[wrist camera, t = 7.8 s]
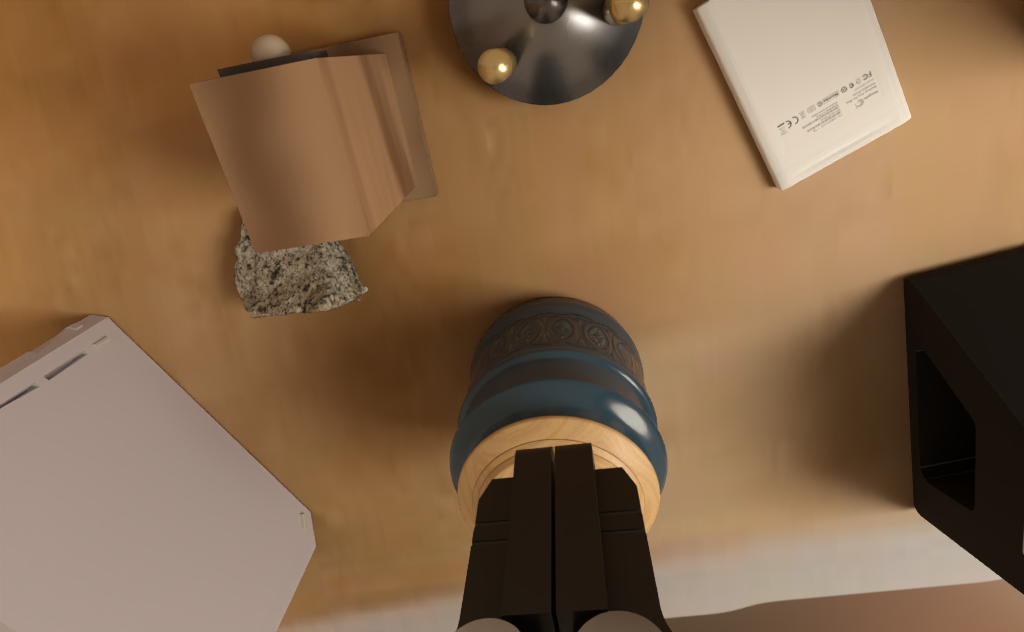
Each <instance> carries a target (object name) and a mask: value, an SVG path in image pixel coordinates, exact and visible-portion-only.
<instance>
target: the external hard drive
mask: <svg viewBox="0 0 1024 632" xmlns="http://www.w3.org/2000/svg"><path fill="white" fill-rule="evenodd" d="M693 13H694V15H695V17H696V19H697V21H698V23H699V26H700V28H701V30H702V32H703V34H704V36H705V38H706V41H707V43H708V45H709V47H710V49H711V51H712V53H713V55H714V57H715V59H716V61H717V63H718V66H719V68H720V70H721V72H722V74H723V76H724V78H725V80H726V82H727V85H728V87H729V89H730V91H731V93H732V95H733V97H734V99H735V102H736V104H737V106H738V108H739V110H740V112H741V114H742V116H743V118H744V120H745V123H746V125H747V127H748V129H749V131H750V133H751V135H752V137H753V140H754V142H755V144H756V146H757V148H758V150H759V152H760V154H761V156H762V158H763V160H764V163H765V165H766V167H767V169H768V171H769V173H770V176H771V178H772V180H773V182H774V184H775V186H776V187H777V188H778V189H780V190H784V189H787V188H789V187H791V186H792V185H794V184H796V183H798V182H799V181H801V180H803V179H805V178H807V177H808V176H810V175H812V174H814V173H815V172H817V171H819V170H821V169H823V168H824V167H826V166H828V165H830V164H832V163H833V162H835V161H837V160H839V159H840V158H842V157H844V156H846V155H848V154H849V153H851V152H853V151H855V150H857V149H858V148H860V147H862V146H864V145H866V144H867V143H869V142H871V141H873V140H875V139H876V138H878V137H880V136H882V135H884V134H885V133H887V132H889V131H891V130H893V129H894V128H896V127H898V126H900V125H902V124H903V123H905V122H906V121H908V120H909V119H910V118H911V114H910V112H909V109H908V106H907V103H906V100H905V98H904V95H903V92H902V89H901V86H900V83H899V80H898V77H897V74H896V71H895V68H894V66H893V63H892V60H891V57H890V54H889V51H888V48H887V45H886V43H885V40H884V37H883V34H882V31H881V28H880V26H879V23H878V20H877V17H876V14H875V11H874V8H873V6H872V3H871V0H706V1H705V2H703V3H702V4H700V5H699V6H697V7H696V8H694V9H693Z"/></svg>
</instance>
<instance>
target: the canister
mask: <svg viewBox="0 0 1024 632" xmlns="http://www.w3.org/2000/svg"><path fill="white" fill-rule="evenodd" d="M581 443H592V449H593V456H594V463H595V469H605V468H616V467H622V468H623V469H624V470H625V471H626V473H627V474H628V475H629V476H630V478H631V479H632V480H633V481H634V483H635V484H636V485H637V489H638V494H639V499H640V504H641V510H642V515H643V520H644V525H645V531H646V533H647V532H648V531H649V529H650V528H651V526H652V524H653V522H654V520H655V518H656V515H657V512H658V508H659V502H660V495H661V493H662V490H663V488H664V484H665V481H666V476H667V453H666V449H665V445H664V442H663V439H662V437H661V435H660V433H659V431H658V426H657V417H656V413H655V409H654V406H653V404H652V402H651V399H650V397H649V396H648V394H647V392H646V388H645V384H644V375H643V368H642V363H641V360H640V357H639V354H638V351H637V349H636V346H635V344H634V343H633V341H632V339H631V338H630V336H629V335H628V334H627V332H626V331H625V330H624V329H623V328H622V326H621V325H620V324H619V323H618V322H617V321H616V320H615V319H614V318H613V317H612V316H610V315H609V314H608V313H606V312H605V311H603V310H602V309H600V308H598V307H596V306H594V305H592V304H589V303H586V302H584V301H580V300H576V299H571V298H561V297H551V298H542V299H536V300H532V301H529V302H526V303H523V304H521V305H518V306H516V307H514V308H513V309H511V310H509V311H508V312H506V313H505V314H503V315H502V316H501V317H500V318H499V319H498V320H497V321H496V322H495V323H494V324H493V325H492V326H491V327H490V328H489V330H488V331H487V332H486V334H485V335H484V336H483V338H482V339H481V341H480V343H479V345H478V347H477V349H476V352H475V354H474V358H473V361H472V365H471V371H470V384H469V389H468V393H467V396H466V398H465V400H464V402H463V405H462V408H461V411H460V415H459V422H458V430H457V432H456V434H455V437H454V439H453V442H452V446H451V451H450V471H451V476H452V481H453V484H454V487H455V489H456V491H457V494H458V501H459V506H460V510H461V513H462V515H463V517H464V520H465V521H466V523H467V525H468V526H469V528H470V529H471V531H472V532H474V527H475V520H476V513H477V507H478V501H479V498H480V497H481V495H482V494H483V492H484V491H485V489H486V488H487V486H488V485H489V483H490V482H491V480H492V479H498V478H509V477H513V473H514V461H515V453H516V450H522V449H532V448H542V447H553V450H554V454H555V446H561V445H571V444H581Z"/></svg>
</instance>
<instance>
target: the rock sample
mask: <svg viewBox="0 0 1024 632" xmlns="http://www.w3.org/2000/svg"><path fill="white" fill-rule="evenodd" d="M229 246H230V245H229ZM234 248H235V254H236V256H237V258H238V260H237V262H236V263H235V265H234V272H235V282H234V283H235V286H236V288H237V289H238V294H239V297H240V298H241V300H242V301H243V304H244V307H245V310H246V311H248V312H249V313H250V315H251V317H252V318H257V317H259V318H260V317H264V316H278V315H287V314H289V313H307V312H308V313H311V312H323V311H328V310H331V309H334V308H339V307H340V306H342V305H345V304H346V303H347V304H348V303H349V302H350V301H356V298H358V296H359V295H360V294H361V295H362V294H364V293H365V292H367V291H368V288H367V287H363V285H361V282H360V281H359V279H358V275H357V273H356V271H357V269H356V267H355V265H354V262H353V260H352V259H351V258H350V257H349V256H348V255H347V253H346V250H345V249H344V248H343V246H342V245H341V244H340V243H339V242H338V241H333V242H327V243H320V244H314V245H307V246H301V247H295V248H288V249H282V250H276V251H269V252H263V253H255V250H254V248H253V245H252V243H251V240H250V238H249V235H248V233H247V230H246V227H245V225H244V222H243V220H242V224H241V238H240V240H239V242H238V243H237V244H236V246H235V247H234ZM361 277H362V276H361ZM234 283H233V284H234ZM366 285H367V284H366ZM361 298H362V297H361ZM358 299H359V298H358ZM341 304H342V305H341ZM302 318H303V317H302ZM308 319H309V318H308ZM303 320H305V319H303Z"/></svg>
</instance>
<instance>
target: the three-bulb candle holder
mask: <svg viewBox="0 0 1024 632" xmlns="http://www.w3.org/2000/svg"><path fill="white" fill-rule="evenodd" d="M648 3H649V0H448V4H449V13H450V19H451V23H452V28H453V31H454V34H455V37H456V40H457V43H458V45H459V47H460V49H461V51H462V53H463V55H464V57H465V58H466V60H467V61H468V63H469V64H470V66H471V67H472V68H473V70H474V71H475V72H476V73H477V74H478V76H479V77H480V78H481V79H483V80H484V81H485V82H486V83H487V84H488V85H489V86H491V87H492V88H493V89H495V90H496V91H498V92H499V93H501V94H503V95H505V96H507V97H509V98H511V99H514V100H517V101H520V102H524V103H529V104H536V105H552V104H560V103H564V102H569V101H571V100H574V99H577V98H580V97H582V96H584V95H586V94H588V93H589V92H591V91H593V90H594V89H596V88H597V87H599V86H600V85H601V84H603V83H604V82H605V81H606V80H607V79H608V78H609V77H610V76H612V74H613V73H614V72H615V71H616V70H617V69H618V67H619V66H620V65H621V64H622V62H623V61H624V59H625V58H626V56H627V55H628V53H629V51H630V50H631V48H632V46H633V44H634V42H635V40H636V37H637V34H638V32H639V29H640V26H641V22H642V19H643V15H644V14H645V12H646V10H647V8H648Z"/></svg>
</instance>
